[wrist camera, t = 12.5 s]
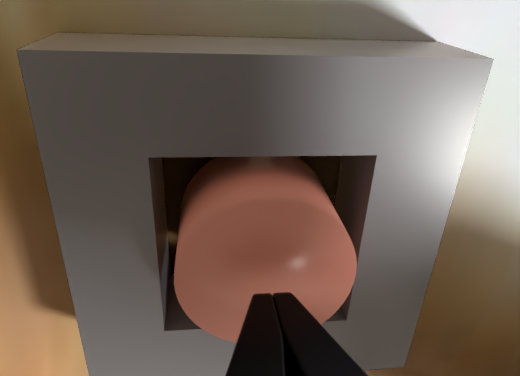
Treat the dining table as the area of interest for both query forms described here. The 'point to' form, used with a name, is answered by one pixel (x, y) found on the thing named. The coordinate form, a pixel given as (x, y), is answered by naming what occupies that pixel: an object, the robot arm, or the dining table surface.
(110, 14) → the dining table surface
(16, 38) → the dining table surface
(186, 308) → the button
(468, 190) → the dining table surface
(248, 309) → the robot arm
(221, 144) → the button housing
